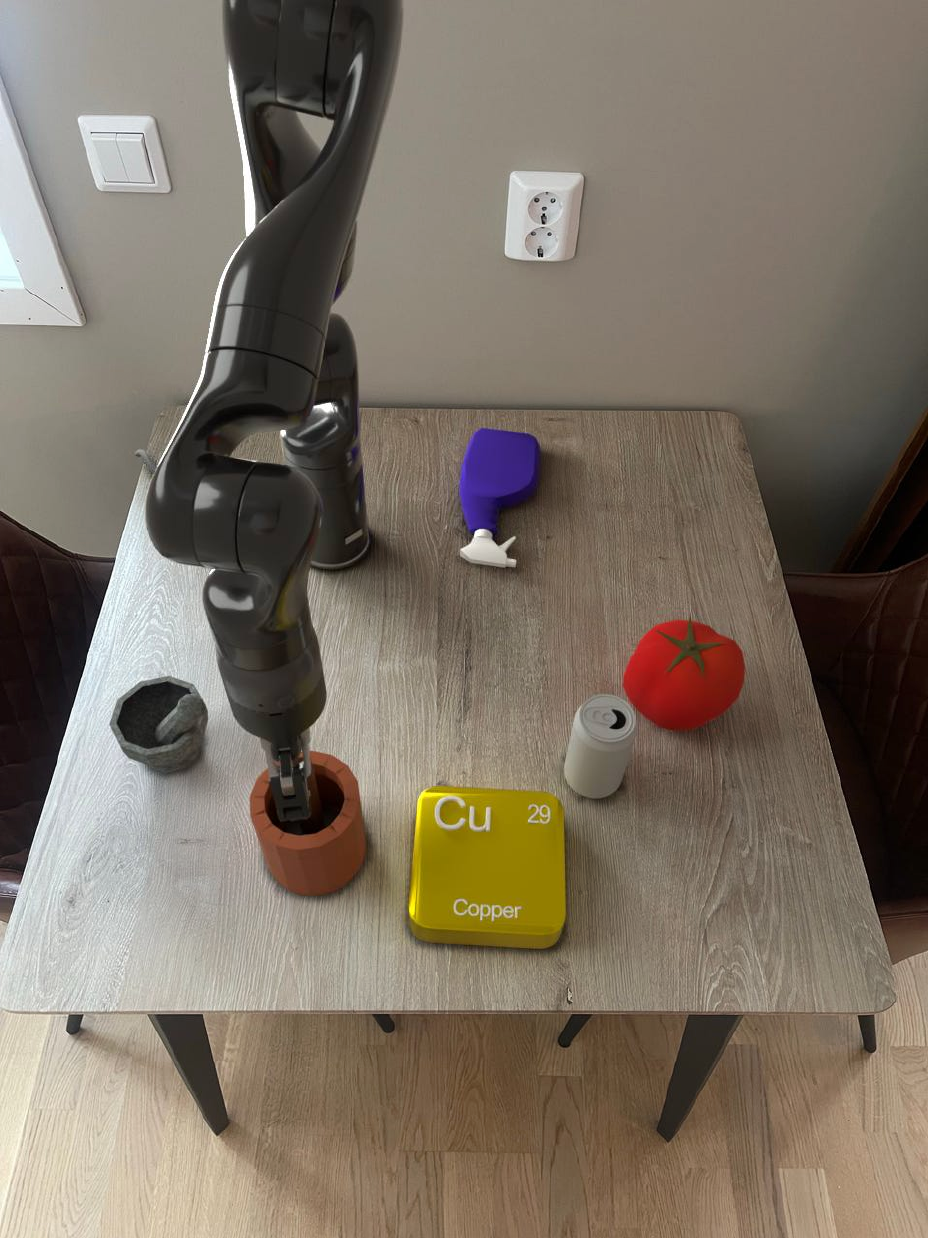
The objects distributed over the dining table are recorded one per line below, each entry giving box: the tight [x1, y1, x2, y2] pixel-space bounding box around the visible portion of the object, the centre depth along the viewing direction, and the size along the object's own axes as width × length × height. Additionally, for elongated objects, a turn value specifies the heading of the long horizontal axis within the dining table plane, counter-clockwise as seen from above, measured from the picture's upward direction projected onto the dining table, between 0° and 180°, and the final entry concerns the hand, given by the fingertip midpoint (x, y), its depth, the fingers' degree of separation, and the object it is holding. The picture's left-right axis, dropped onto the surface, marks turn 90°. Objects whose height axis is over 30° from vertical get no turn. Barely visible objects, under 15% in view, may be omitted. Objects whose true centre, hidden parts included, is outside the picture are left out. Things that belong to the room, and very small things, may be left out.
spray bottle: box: [458, 427, 542, 568], centre depth 126 cm, size 3×11×24 cm
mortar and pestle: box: [108, 675, 209, 774], centre depth 98 cm, size 11×9×12 cm
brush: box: [285, 757, 339, 836], centre depth 89 cm, size 6×6×16 cm
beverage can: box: [563, 693, 638, 799], centre depth 97 cm, size 6×6×12 cm
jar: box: [249, 750, 367, 897], centre depth 91 cm, size 10×10×11 cm
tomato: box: [622, 613, 746, 732], centre depth 103 cm, size 12×13×12 cm
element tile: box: [407, 785, 567, 950], centre depth 92 cm, size 15×15×5 cm
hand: (296, 771), depth 83 cm, fingers open, 8 cm apart
